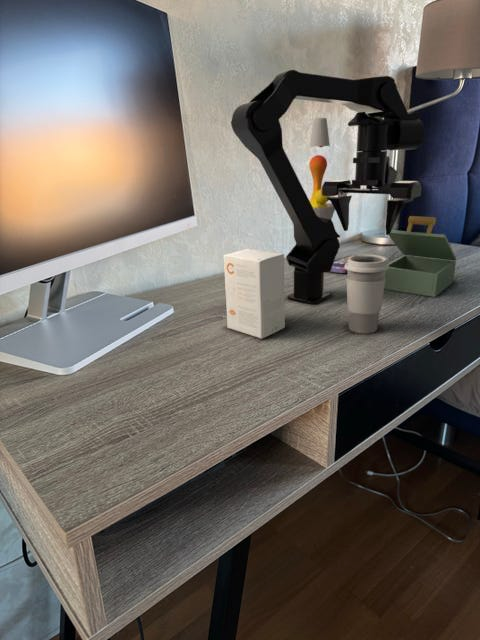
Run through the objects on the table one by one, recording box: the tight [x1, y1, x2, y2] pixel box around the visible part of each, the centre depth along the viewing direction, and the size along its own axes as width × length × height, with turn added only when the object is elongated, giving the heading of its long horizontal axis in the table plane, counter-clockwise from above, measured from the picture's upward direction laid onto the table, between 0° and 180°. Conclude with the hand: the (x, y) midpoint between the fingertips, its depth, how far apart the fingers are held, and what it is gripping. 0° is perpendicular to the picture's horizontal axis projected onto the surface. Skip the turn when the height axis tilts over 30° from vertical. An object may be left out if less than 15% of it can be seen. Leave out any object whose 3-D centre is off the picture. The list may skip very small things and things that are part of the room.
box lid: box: [388, 215, 457, 262], centre depth 94 cm, size 13×11×5 cm
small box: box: [223, 248, 286, 339], centre depth 74 cm, size 8×6×13 cm
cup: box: [345, 253, 389, 335], centre depth 73 cm, size 7×7×12 cm
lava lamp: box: [308, 117, 336, 220], centre depth 111 cm, size 9×9×35 cm
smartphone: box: [330, 255, 351, 274], centre depth 113 cm, size 1×7×15 cm
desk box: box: [384, 254, 457, 298], centre depth 95 cm, size 12×11×5 cm
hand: (366, 232), depth 91 cm, fingers open, 9 cm apart
